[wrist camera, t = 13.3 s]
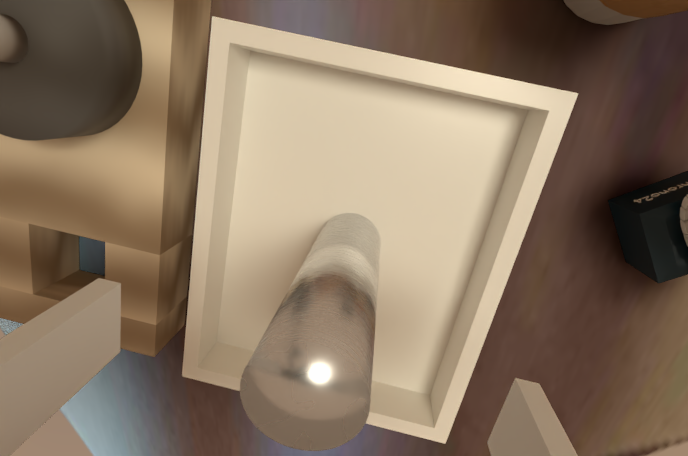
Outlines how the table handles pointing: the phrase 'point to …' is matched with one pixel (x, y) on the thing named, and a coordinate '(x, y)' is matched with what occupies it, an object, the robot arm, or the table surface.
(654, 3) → the coffee cup
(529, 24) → the table surface
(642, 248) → the watch
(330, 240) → the lock pin
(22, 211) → the tensioner plate
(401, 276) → the tray
